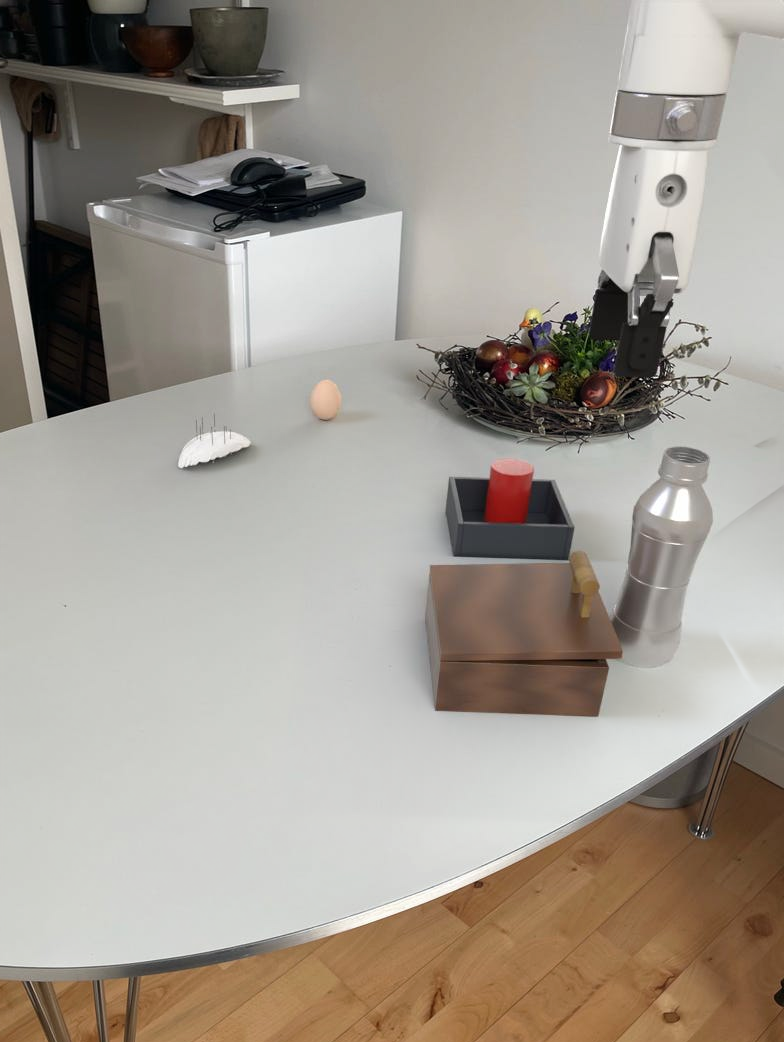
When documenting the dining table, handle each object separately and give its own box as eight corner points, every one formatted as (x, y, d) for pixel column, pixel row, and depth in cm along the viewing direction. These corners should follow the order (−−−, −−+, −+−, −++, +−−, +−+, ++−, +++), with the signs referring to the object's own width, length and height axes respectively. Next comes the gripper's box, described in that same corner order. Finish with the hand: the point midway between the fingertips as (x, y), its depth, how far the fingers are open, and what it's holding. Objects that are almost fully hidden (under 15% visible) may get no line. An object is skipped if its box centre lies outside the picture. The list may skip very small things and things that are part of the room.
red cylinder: (520, 524, 111) (530, 458, 107) (526, 543, 107) (537, 476, 103) (480, 522, 111) (488, 457, 107) (485, 541, 107) (493, 474, 103)
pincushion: (234, 439, 133) (233, 399, 130) (264, 451, 129) (264, 410, 126) (165, 463, 126) (162, 421, 123) (195, 477, 122) (193, 434, 119)
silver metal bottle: (652, 635, 93) (702, 437, 82) (687, 675, 87) (746, 469, 76) (588, 640, 92) (630, 441, 81) (620, 682, 86) (670, 474, 75)
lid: (585, 569, 90) (591, 524, 87) (621, 658, 78) (629, 610, 75) (429, 572, 91) (430, 528, 88) (440, 661, 78) (442, 612, 76)
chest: (565, 629, 93) (575, 577, 90) (596, 724, 81) (609, 667, 78) (424, 625, 94) (429, 572, 91) (434, 718, 82) (440, 661, 78)
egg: (303, 418, 140) (303, 379, 137) (325, 411, 142) (326, 373, 139) (324, 427, 137) (325, 387, 134) (347, 419, 140) (348, 380, 136)
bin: (549, 514, 114) (554, 479, 112) (567, 564, 104) (574, 527, 102) (445, 511, 115) (449, 476, 112) (454, 561, 105) (458, 523, 102)
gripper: (759, 136, 63) (697, 393, 72) (684, 110, 77) (640, 328, 87) (642, 134, 63) (595, 390, 72) (589, 109, 77) (556, 326, 87)
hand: (620, 356), depth 79 cm, fingers open, 9 cm apart
